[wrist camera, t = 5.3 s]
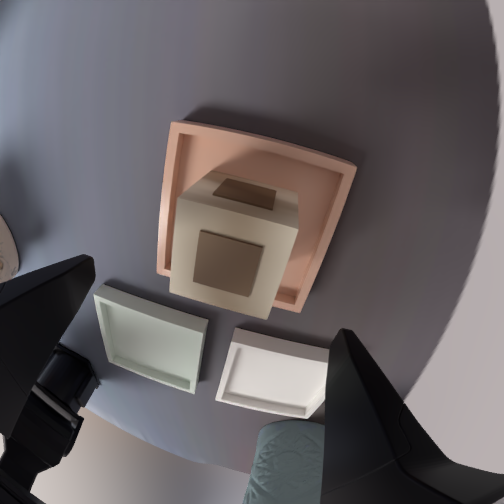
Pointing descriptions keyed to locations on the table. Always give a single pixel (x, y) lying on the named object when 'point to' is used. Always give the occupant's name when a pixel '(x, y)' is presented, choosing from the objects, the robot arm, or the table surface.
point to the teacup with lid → (7, 253)
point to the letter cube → (233, 242)
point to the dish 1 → (151, 338)
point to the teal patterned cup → (287, 464)
